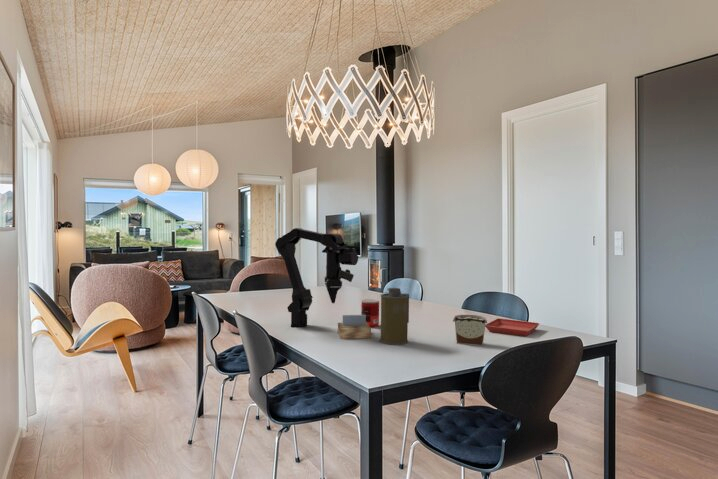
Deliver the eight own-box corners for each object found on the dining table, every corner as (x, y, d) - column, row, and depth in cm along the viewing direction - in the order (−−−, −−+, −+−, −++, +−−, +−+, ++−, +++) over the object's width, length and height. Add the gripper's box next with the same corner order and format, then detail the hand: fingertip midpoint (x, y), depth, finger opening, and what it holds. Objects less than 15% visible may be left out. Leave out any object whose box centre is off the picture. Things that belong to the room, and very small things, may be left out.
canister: (388, 346, 170) (389, 290, 169) (375, 339, 179) (375, 287, 179) (414, 343, 174) (415, 289, 174) (400, 337, 184) (400, 286, 183)
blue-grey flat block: (342, 333, 185) (342, 315, 185) (342, 332, 187) (342, 314, 187) (365, 333, 187) (365, 315, 186) (364, 332, 189) (365, 314, 188)
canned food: (379, 324, 210) (379, 299, 209) (378, 327, 202) (378, 302, 201) (362, 323, 210) (362, 298, 210) (360, 327, 202) (360, 301, 202)
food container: (488, 342, 177) (488, 315, 177) (487, 346, 171) (487, 318, 171) (454, 339, 181) (455, 313, 181) (452, 343, 175) (453, 316, 175)
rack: (340, 338, 180) (340, 328, 180) (337, 331, 192) (337, 322, 192) (371, 338, 182) (371, 328, 182) (366, 331, 194) (367, 322, 194)
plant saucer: (528, 338, 185) (528, 330, 185) (483, 332, 195) (483, 324, 195) (539, 330, 200) (539, 323, 200) (497, 325, 210) (497, 318, 210)
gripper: (355, 266, 187) (354, 305, 187) (350, 262, 205) (349, 298, 206) (326, 265, 186) (326, 305, 186) (324, 262, 204) (324, 298, 205)
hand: (332, 301), depth 196 cm, fingers open, 9 cm apart
